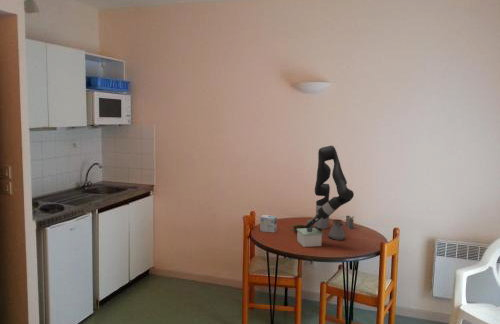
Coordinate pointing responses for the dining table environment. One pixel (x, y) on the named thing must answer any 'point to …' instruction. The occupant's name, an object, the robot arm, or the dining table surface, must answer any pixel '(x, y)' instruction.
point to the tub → (309, 240)
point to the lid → (309, 230)
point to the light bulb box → (268, 223)
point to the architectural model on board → (349, 222)
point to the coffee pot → (337, 230)
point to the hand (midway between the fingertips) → (308, 225)
